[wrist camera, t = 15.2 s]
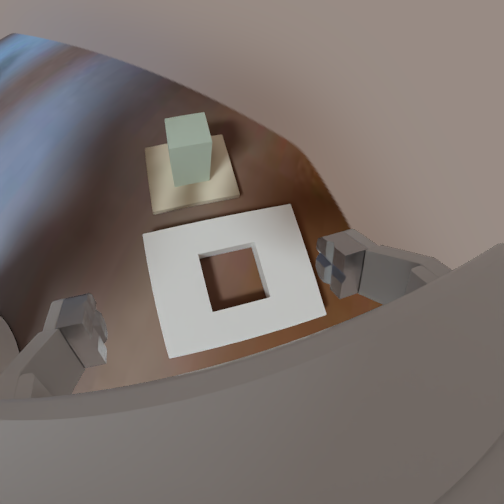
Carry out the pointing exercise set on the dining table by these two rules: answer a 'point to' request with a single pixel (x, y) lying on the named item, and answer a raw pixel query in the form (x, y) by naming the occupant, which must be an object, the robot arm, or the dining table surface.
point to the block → (189, 148)
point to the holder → (194, 288)
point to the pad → (192, 194)
